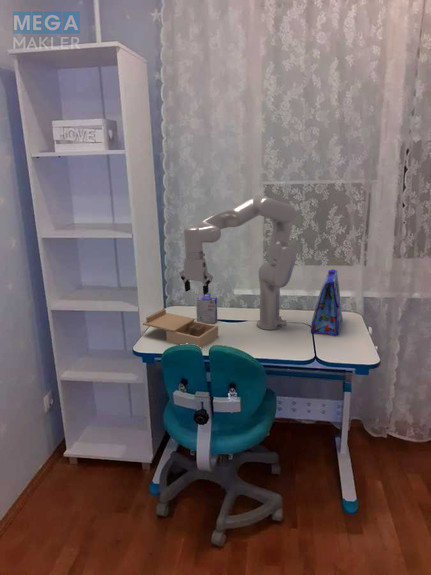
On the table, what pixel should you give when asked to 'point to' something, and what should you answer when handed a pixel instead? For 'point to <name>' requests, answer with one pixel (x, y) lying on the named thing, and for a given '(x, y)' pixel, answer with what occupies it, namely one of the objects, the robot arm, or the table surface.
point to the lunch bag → (328, 307)
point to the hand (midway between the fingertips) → (196, 292)
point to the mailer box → (184, 336)
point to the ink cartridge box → (206, 309)
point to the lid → (167, 321)
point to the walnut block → (197, 330)
